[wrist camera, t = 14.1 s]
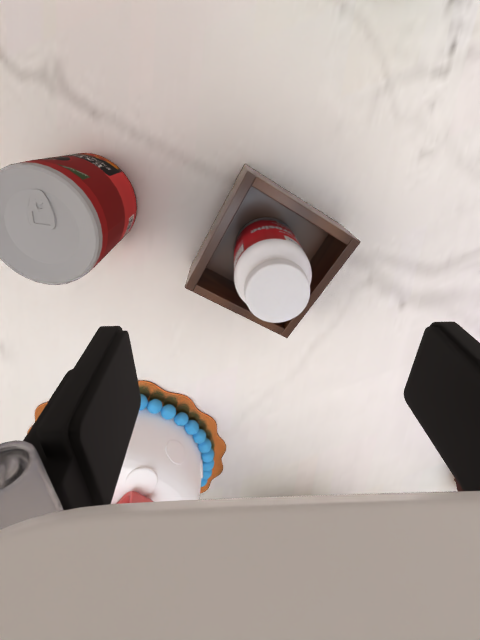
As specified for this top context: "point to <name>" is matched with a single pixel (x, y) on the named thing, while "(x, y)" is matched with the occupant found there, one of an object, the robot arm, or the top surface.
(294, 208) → the holder
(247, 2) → the top surface
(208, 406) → the top surface
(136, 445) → the wedding cake
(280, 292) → the pill bottle
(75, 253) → the canned food
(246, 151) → the top surface
